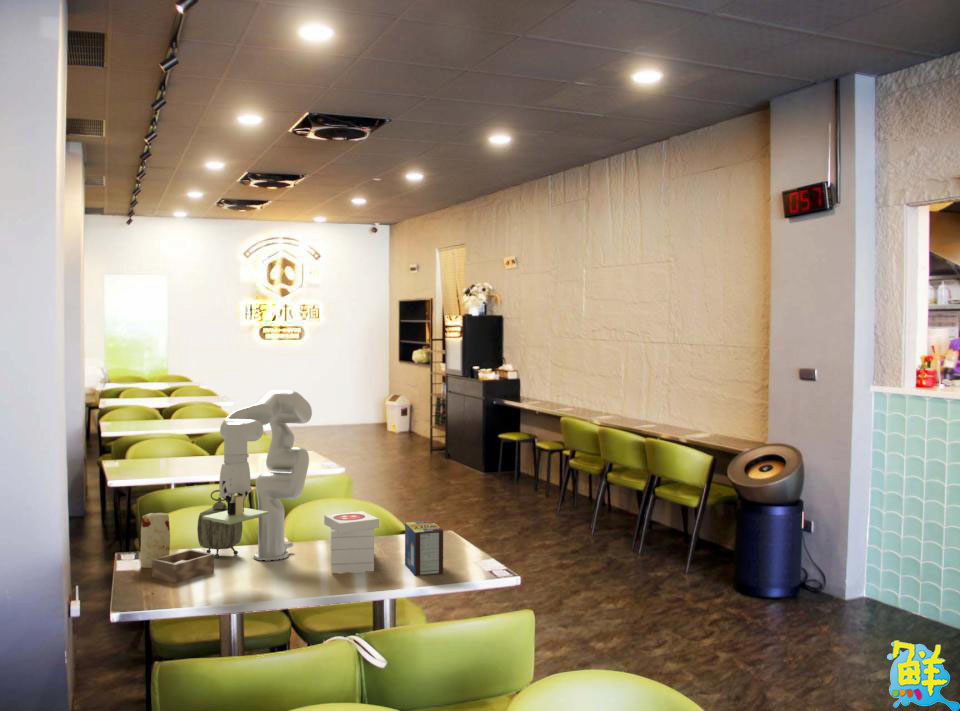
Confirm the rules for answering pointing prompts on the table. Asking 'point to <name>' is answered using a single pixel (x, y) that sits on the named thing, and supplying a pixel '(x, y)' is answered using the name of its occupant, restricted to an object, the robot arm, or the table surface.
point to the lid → (239, 514)
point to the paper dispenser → (352, 541)
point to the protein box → (424, 548)
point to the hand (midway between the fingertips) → (235, 512)
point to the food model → (154, 537)
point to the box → (182, 566)
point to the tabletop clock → (218, 530)
